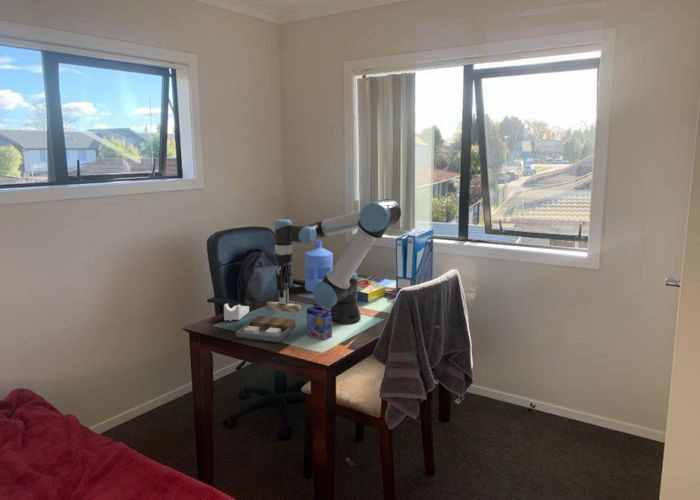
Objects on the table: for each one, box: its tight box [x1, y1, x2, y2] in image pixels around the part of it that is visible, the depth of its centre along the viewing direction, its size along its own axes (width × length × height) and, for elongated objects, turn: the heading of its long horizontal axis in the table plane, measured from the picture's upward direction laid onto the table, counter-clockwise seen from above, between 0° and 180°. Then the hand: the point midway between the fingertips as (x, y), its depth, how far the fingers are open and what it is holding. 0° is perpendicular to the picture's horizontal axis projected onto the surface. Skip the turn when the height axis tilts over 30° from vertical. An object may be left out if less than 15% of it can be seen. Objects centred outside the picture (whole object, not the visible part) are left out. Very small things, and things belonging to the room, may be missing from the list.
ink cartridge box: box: [306, 303, 333, 341], centre depth 228 cm, size 10×6×14 cm, turn 55°
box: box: [235, 323, 291, 344], centre depth 229 cm, size 20×11×2 cm, turn 74°
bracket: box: [223, 303, 250, 322], centre depth 253 cm, size 13×7×8 cm, turn 169°
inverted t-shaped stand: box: [266, 282, 302, 314], centre depth 249 cm, size 16×3×13 cm, turn 75°
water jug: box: [304, 239, 334, 293], centre depth 299 cm, size 16×16×28 cm
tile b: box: [243, 326, 259, 334], centre depth 229 cm, size 5×5×2 cm
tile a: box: [265, 328, 281, 336], centre depth 227 cm, size 5×5×2 cm
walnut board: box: [249, 315, 296, 332], centre depth 238 cm, size 18×9×4 cm, turn 74°
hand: (283, 302), depth 250 cm, fingers closed on inverted t-shaped stand, 3 cm apart
